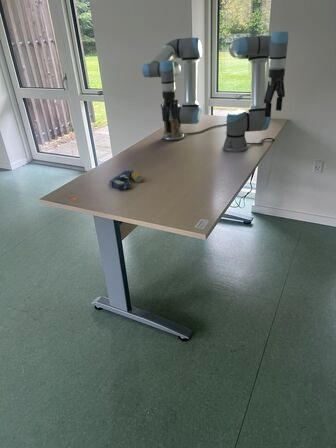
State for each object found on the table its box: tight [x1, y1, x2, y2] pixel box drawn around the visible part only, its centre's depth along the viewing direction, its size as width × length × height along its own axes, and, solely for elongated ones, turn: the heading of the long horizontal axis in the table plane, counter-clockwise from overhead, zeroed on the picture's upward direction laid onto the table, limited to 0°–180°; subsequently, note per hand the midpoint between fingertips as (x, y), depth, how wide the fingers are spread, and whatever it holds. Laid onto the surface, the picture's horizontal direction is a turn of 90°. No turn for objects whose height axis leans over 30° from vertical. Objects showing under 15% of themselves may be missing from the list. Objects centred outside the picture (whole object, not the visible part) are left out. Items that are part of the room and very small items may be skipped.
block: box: [163, 119, 179, 135], centre depth 202 cm, size 5×7×8 cm
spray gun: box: [108, 168, 143, 191], centre depth 184 cm, size 21×4×15 cm
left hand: (171, 131), depth 203 cm, fingers closed on block, 5 cm apart
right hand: (273, 113), depth 171 cm, fingers open, 13 cm apart
